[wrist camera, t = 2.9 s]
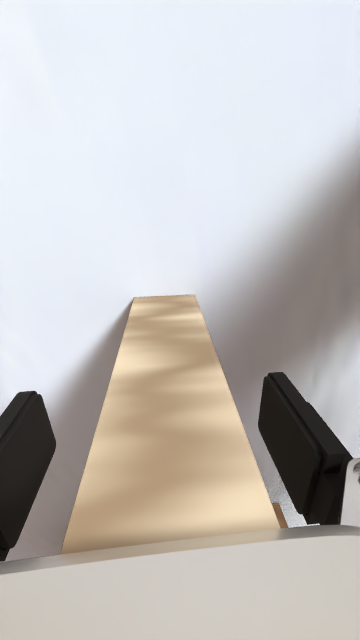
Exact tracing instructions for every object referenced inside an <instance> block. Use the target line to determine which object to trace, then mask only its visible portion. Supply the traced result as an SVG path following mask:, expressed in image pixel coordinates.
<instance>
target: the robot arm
mask: <svg viewBox="0 0 360 640" xmlns="http://www.w3.org/2000/svg"><path fill="white" fill-rule="evenodd" d="M258 427H259V431H260V433H261V436H262V438H263V440H264V442H265V444H266V446H267V449H268V451H269V453H270V455H271V457H272V459H273V461H274V464H275V466H276V468H277V470H278V472H279V474H280V476H281V479H282V481H283V483H284V485H285V487H286V489H287V492H288V494H289V496H290V498H291V500H292V502H293V504H294V507H295V509H296V511H297V512H298V513H299V514H303V516H304V518H305V520H306V522H307V525H309V524H317V523H319V524H320V525H314V526H303V527H292V528H282V529H271V530H262V531H253V532H244V533H236V534H227V535H218V536H209V537H200V538H192V539H184V540H175V541H167V542H158V543H150V544H142V545H133V546H125V547H117V548H109V549H101V550H93V551H85V552H77V553H69V554H61V555H53V556H45V557H37V558H29V559H22V560H15V561H8V562H1V561H5V559H6V557H7V554H8V552H9V550H10V548H13V547H14V546H15V545H16V543H17V541H18V538H19V536H20V534H21V531H22V529H23V526H24V524H25V522H26V519H27V517H28V514H29V512H30V510H31V507H32V505H33V502H34V500H35V498H36V495H37V493H38V490H39V488H40V486H41V483H42V481H43V478H44V476H45V473H46V471H47V469H48V466H49V464H50V461H51V459H52V457H53V454H54V452H55V448H56V440H55V437H54V434H53V431H52V428H51V424H50V421H49V418H48V415H47V412H46V408H45V405H44V402H43V399H42V396H41V395H40V394H37V392H36V391H27V392H19V393H18V394H17V395H16V396H15V397H14V399H13V400H12V401H11V403H10V404H9V405H8V407H7V408H6V409H5V411H4V412H3V414H2V415H1V416H0V562H1V563H0V640H360V458H355V459H354V458H353V457H352V456H351V455H350V453H349V452H348V451H347V450H346V448H345V447H344V446H343V445H342V443H341V442H340V441H339V439H338V438H337V437H336V436H335V434H334V433H333V432H332V431H331V429H330V428H329V427H328V426H327V424H326V423H325V422H324V421H323V419H322V418H321V417H320V415H319V414H318V413H317V412H316V410H315V409H314V408H313V407H312V405H311V404H310V403H308V402H306V401H305V399H304V398H303V397H302V396H301V394H300V393H299V392H298V390H297V389H296V388H295V387H294V385H293V384H292V383H291V381H290V380H289V379H288V378H287V376H286V375H285V374H284V373H283V372H274V373H269V374H268V376H267V377H264V381H263V389H262V397H261V405H260V412H259V420H258Z"/></svg>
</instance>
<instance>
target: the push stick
mask: <svg viewBox="0 0 360 640" xmlns="http://www.w3.org/2000/svg"><path fill="white" fill-rule="evenodd" d="M271 529H281V528H280V525H279V523H278V520H277V517H276V514H275V512H274V509H273V506H272V504H271V501H270V498H269V495H268V493H267V490H266V487H265V484H264V482H263V479H262V476H261V474H260V471H259V468H258V465H257V463H256V460H255V457H254V454H253V452H252V449H251V446H250V444H249V441H248V438H247V435H246V433H245V430H244V427H243V425H242V422H241V419H240V416H239V414H238V411H237V408H236V405H235V403H234V400H233V397H232V395H231V392H230V389H229V386H228V384H227V381H226V378H225V375H224V373H223V370H222V367H221V365H220V362H219V359H218V356H217V354H216V351H215V348H214V345H213V343H212V340H211V337H210V335H209V332H208V329H207V326H206V324H205V321H204V318H203V315H202V313H201V310H200V307H199V305H198V302H197V299H196V296H195V295H176V296H155V297H134V300H133V303H132V307H131V310H130V314H129V317H128V321H127V324H126V327H125V331H124V334H123V338H122V341H121V345H120V348H119V352H118V355H117V359H116V362H115V365H114V369H113V372H112V376H111V379H110V383H109V386H108V390H107V393H106V397H105V400H104V404H103V407H102V410H101V414H100V417H99V421H98V424H97V428H96V431H95V435H94V438H93V442H92V445H91V448H90V452H89V455H88V459H87V462H86V466H85V469H84V473H83V476H82V480H81V483H80V486H79V490H78V493H77V497H76V500H75V504H74V507H73V511H72V514H71V518H70V521H69V525H68V528H67V531H66V535H65V538H64V542H63V545H62V549H61V552H60V555H61V554H69V553H77V552H85V551H93V550H101V549H109V548H117V547H125V546H133V545H142V544H150V543H158V542H167V541H175V540H184V539H192V538H200V537H209V536H218V535H227V534H236V533H244V532H253V531H262V530H271Z"/></svg>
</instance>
